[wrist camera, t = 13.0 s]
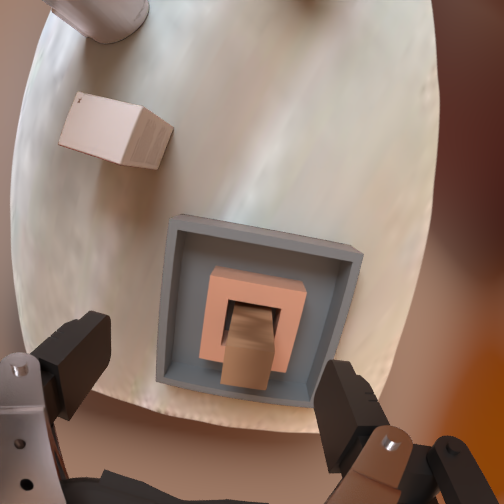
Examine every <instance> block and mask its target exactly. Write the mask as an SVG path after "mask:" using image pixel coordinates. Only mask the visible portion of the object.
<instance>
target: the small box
mask: <svg viewBox="0 0 504 504" xmlns="http://www.w3.org/2000/svg"><path fill="white" fill-rule="evenodd" d="M173 128H174V127H173V126H171V125H170V124H168V123H167V122H165V121H164V120H162V119H161V118H160V117H158V116H157V115H155V114H154V113H152V112H151V111H150V110H148V109H147V108H145V107H144V106H140V105H135V104H130V103H126V102H122V101H117V100H113V99H109V98H104V97H100V96H96V95H91V94H87V93H84V92H80V91H78V92H77V94H76V96H75V98H74V101H73V103H72V106H71V108H70V111H69V114H68V116H67V119H66V122H65V124H64V127H63V130H62V133H61V136H60V139H59V142H58V145H60V146H63V147H66V148H70V149H73V150H76V151H79V152H82V153H85V154H88V155H91V156H94V157H97V158H100V159H103V160H106V161H109V162H112V163H115V164H118V165H123V166H131V167H140V168H147V169H154V170H157V169H158V167H159V165H160V162H161V159H162V157H163V154H164V151H165V149H166V146H167V144H168V141H169V139H170V136H171V133H172V131H173Z"/></svg>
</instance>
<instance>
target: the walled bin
mask: <svg viewBox="0 0 504 504" xmlns="http://www.w3.org/2000/svg"><path fill="white" fill-rule="evenodd" d="M363 255H364V254H363V253H361V252H360V251H358V250H357V249H355V248H354V247H352V246H351V245H347V244H342V243H337V242H332V241H327V240H322V239H317V238H311V237H306V236H301V235H296V234H291V233H285V232H280V231H275V230H270V229H264V228H259V227H253V226H248V225H242V224H237V223H231V222H226V221H220V220H214V219H208V218H203V217H197V216H191V215H185V214H180V215H177V216H174V217H172V218H169V225H168V232H167V240H166V248H165V257H164V266H163V276H162V286H161V297H160V310H159V323H158V340H157V360H156V382H159V383H163V384H167V385H171V386H176V387H180V388H184V389H189V390H193V391H198V392H203V393H208V394H213V395H218V396H224V397H229V398H235V399H241V400H248V401H254V402H261V403H269V404H277V405H286V406H295V407H306V408H314V395H315V392H316V389H317V387H318V384H319V382H320V379H321V376H322V374H323V371H324V369H325V366H326V364H327V362H328V361H329V360H333V358H334V355H335V352H336V349H337V346H338V343H339V340H340V337H341V334H342V331H343V328H344V324H345V321H346V318H347V315H348V311H349V308H350V304H351V301H352V297H353V294H354V290H355V286H356V283H357V279H358V275H359V271H360V268H361V264H362V260H363ZM235 301H240V302H246V303H251V304H257V305H263V306H269V307H271V309H272V321H273V334H274V346H275V355H274V359H273V363H272V368H271V372H270V376H269V380H268V384H267V389H266V390H259V389H251V388H244V387H238V386H231V385H225V384H220V381H221V375H222V368H223V361H224V354H225V347H226V342H227V337H228V333H229V328H230V324H231V319H232V314H233V310H234V305H235Z"/></svg>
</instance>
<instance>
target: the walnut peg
mask: <svg viewBox="0 0 504 504" xmlns="http://www.w3.org/2000/svg"><path fill="white" fill-rule="evenodd" d="M274 355H275V346H274V334H273V321H272V309H271V307H269V306H263V305H257V304H251V303H246V302H240V301H235V305H234V310H233V314H232V319H231V324H230V328H229V333H228V337H227V342H226V347H225V354H224V361H223V368H222V375H221V381H220V384H225V385H231V386H238V387H244V388H251V389H259V390H266V389H267V384H268V380H269V376H270V372H271V368H272V363H273V359H274Z"/></svg>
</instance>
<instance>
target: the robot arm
mask: <svg viewBox="0 0 504 504" xmlns="http://www.w3.org/2000/svg"><path fill="white" fill-rule="evenodd" d="M42 1H44V2H45V3H46V4H48V5H49V6H51V7H52V13H54V14H55V15H56V16H58V17H59V18H61V19H62V20H63V21H65V22H66V23H67V24H69V25H70V26H71V27H73V28H74V29H75V30H77V31H78V32H79V33H81V34H82V35H83V36H85V37H91V38H92V39H94V40H95V41H97V42H99V43H104V44H107V43H114V42H117V41H120V40H122V39H124V38H126V37H127V36H129V35H131V34H132V33H133V32H134V31H136V30H137V29H138V28H139V27H140V26H141V24H142V23H143V22H144V20H145V18H146V16H147V14H148V11H149V3H148V0H42ZM110 357H111V319H110V317H109V316H108V315H105V314H102V313H98V312H95V311H89V312H88V313H86V314H85V315H84V316H83V317H82V318H81V319H80V320H77V319H75V320H72V321H70V322H67V323H65V324H63V325H62V326H61V327H60V328H59V329H58V330H57V332H56V331H55V332H54V333H53V334H52V335H51V337H48V338H47V339H46V340H45V341H44V342H43V343H42V344H40V345H39V346H38V347H37V348H36V349H35V350H34V351H33V352H31V353H30V354H27V353H12V354H9V355H7V356H6V357H4V358H3V359H2V361H1V362H0V504H269V503H258V502H245V501H237V500H229V499H226V500H206V501H205V500H203V501H186V500H181V499H178V498H176V497H173V496H171V495H169V494H167V493H165V492H162V491H160V490H158V489H156V488H154V487H152V486H150V485H148V484H146V483H144V482H142V481H138V480H135V479H132V478H128V477H125V476H122V475H119V474H116V473H113V472H110V471H108V470H104V471H103V474H102V476H101V478H88V477H82V478H70V479H69V476H68V474H67V471H66V468H65V464H64V461H63V457H62V454H61V450H60V446H59V442H58V437H57V433H56V429H55V425H54V421H55V419H56V418H57V417H61V418H63V419H65V420H68V421H70V419H71V418H72V416H73V415H74V413H75V412H76V410H77V409H78V407H79V406H80V404H81V403H82V401H83V400H84V398H85V397H86V396H87V394H88V393H89V392H90V390H91V389H92V387H93V386H94V384H95V383H96V382H97V380H98V379H99V377H100V376H101V375H102V373H103V372H104V370H105V369H106V368H107V366H108V364H109V361H110ZM377 401H378V400H377V398H376V396H375V395H374V392H373V390H372V388H371V386H370V384H369V383H368V382H367V381H366V380H365V379H364V378H363V377H362V376H360V375H356V373H355V371H354V369H353V367H352V365H351V363H350V362H349V361H340V360H329V361H328V362H327V364H326V366H325V369H324V371H323V374H322V376H321V379H320V382H319V384H318V387H317V389H316V392H315V395H314V411H315V415H316V419H317V424H318V428H319V432H320V436H321V441H322V445H323V449H324V454H325V458H326V462H327V467H328V471H329V473H341V474H342V479H341V481H340V482H339V483H338V485H337V486H336V488H335V489H334V491H333V492H332V493H331V495H330V496H329V497H328V499H327V500H326V502H325V503H324V504H439V503H438V501H437V499H436V495H437V494H438V493H439V492H440V491H441V493H442V496H443V498H444V501H445V503H446V504H499V503H498V501H497V499H496V497H495V495H494V493H493V491H492V489H491V487H490V486H489V484H488V482H487V480H486V479H485V476H484V475H483V473H482V471H481V469H480V468H479V466H478V464H477V462H476V461H475V459H474V457H473V455H472V454H471V452H470V451H469V449H468V447H467V446H466V444H465V443H464V442H463V441H461V440H460V439H458V438H456V437H453V436H442V437H440V438H438V439H437V440H436V442H435V443H434V445H433V446H432V447H431V446H424V445H417V444H413V442H412V439H411V437H410V436H409V435H408V434H407V433H406V432H405V431H403V430H402V429H400V428H398V427H395V426H390V424H389V422H388V420H387V418H386V416H385V414H384V412H383V410H382V408H381V406H380V404H379V402H377Z"/></svg>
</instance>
